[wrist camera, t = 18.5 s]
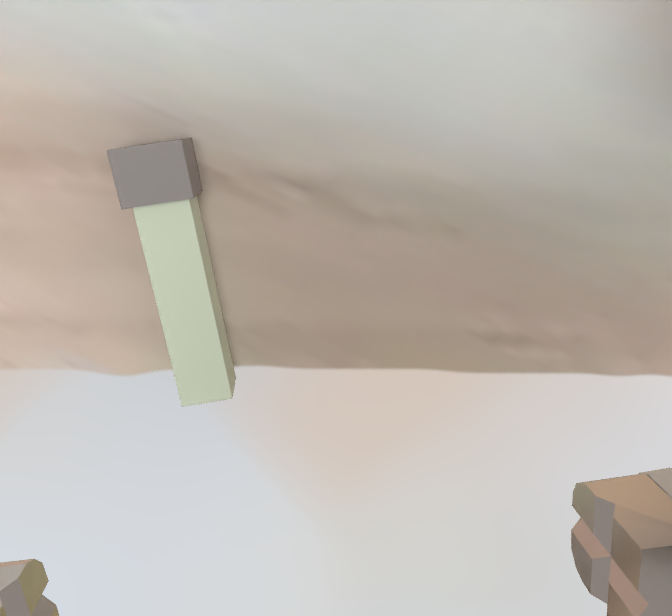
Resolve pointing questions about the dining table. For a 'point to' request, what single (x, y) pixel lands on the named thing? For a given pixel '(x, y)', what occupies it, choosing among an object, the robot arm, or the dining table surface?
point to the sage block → (178, 263)
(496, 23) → the dining table surface
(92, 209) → the dining table surface
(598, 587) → the robot arm
